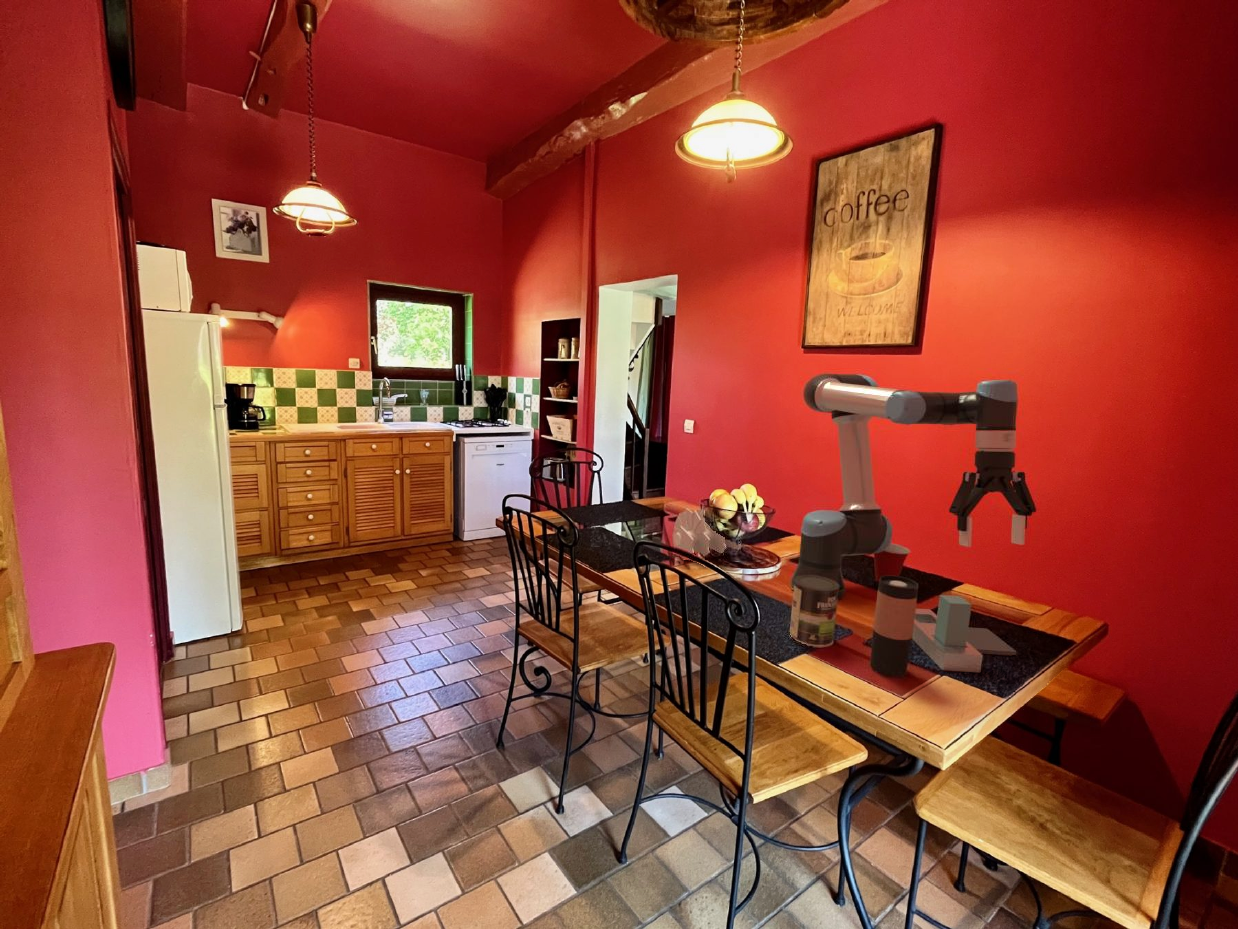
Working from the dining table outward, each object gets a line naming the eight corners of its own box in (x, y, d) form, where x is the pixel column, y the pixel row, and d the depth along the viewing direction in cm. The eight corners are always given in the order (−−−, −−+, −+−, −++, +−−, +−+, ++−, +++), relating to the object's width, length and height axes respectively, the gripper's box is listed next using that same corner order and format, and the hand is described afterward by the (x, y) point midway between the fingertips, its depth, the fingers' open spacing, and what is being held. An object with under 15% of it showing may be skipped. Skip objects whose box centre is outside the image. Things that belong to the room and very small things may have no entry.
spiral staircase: (669, 569, 193) (730, 557, 203) (695, 562, 177) (759, 550, 188) (658, 516, 197) (718, 507, 207) (683, 505, 181) (746, 496, 192)
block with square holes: (942, 670, 124) (944, 653, 123) (896, 622, 148) (898, 607, 147) (980, 672, 124) (982, 655, 123) (927, 624, 147) (929, 609, 147)
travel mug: (862, 660, 127) (872, 575, 124) (894, 660, 128) (905, 575, 124) (880, 678, 120) (891, 588, 116) (915, 678, 120) (926, 588, 117)
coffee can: (843, 643, 135) (849, 586, 133) (811, 651, 130) (817, 593, 128) (810, 625, 144) (815, 572, 142) (779, 632, 139) (784, 577, 137)
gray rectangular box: (941, 662, 128) (950, 603, 125) (932, 652, 132) (939, 595, 130) (963, 663, 127) (971, 604, 125) (952, 653, 132) (960, 596, 130)
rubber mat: (962, 652, 132) (963, 648, 132) (937, 629, 144) (938, 625, 144) (1016, 655, 132) (1016, 651, 132) (986, 632, 144) (986, 628, 143)
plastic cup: (912, 590, 170) (917, 552, 168) (876, 588, 170) (881, 550, 168) (896, 577, 181) (900, 541, 179) (862, 575, 181) (866, 539, 179)
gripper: (958, 451, 121) (955, 549, 122) (1058, 450, 125) (1054, 546, 126) (933, 450, 128) (930, 543, 129) (1028, 449, 132) (1024, 539, 134)
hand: (991, 544), depth 128 cm, fingers open, 13 cm apart
